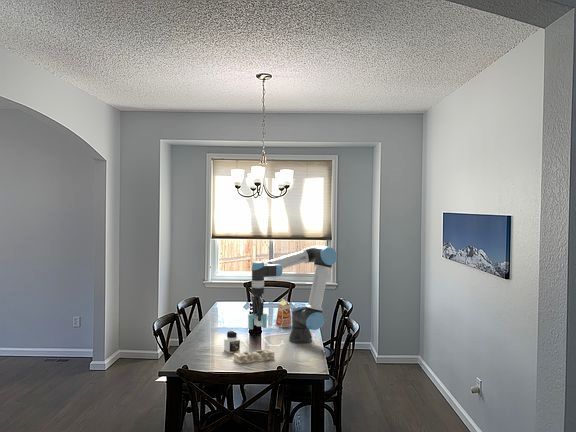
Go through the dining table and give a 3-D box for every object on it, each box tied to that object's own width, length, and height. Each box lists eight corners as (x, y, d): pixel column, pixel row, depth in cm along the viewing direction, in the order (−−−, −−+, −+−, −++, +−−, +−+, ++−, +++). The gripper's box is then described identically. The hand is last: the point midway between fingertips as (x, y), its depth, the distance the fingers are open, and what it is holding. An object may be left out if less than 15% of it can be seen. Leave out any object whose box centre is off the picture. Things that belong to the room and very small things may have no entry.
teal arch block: (264, 326, 335) (264, 313, 335) (266, 327, 332) (266, 313, 332) (248, 328, 330) (248, 314, 330) (250, 329, 327) (250, 315, 327)
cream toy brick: (268, 355, 324) (268, 349, 324) (274, 359, 316) (274, 352, 316) (233, 360, 314) (234, 353, 314) (239, 363, 306) (239, 356, 306)
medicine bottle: (229, 353, 328) (229, 333, 328) (223, 350, 334) (224, 331, 334) (239, 351, 333) (240, 331, 332) (233, 348, 338) (234, 329, 338)
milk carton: (275, 325, 407) (275, 298, 407) (285, 324, 413) (285, 297, 412) (282, 327, 400) (282, 300, 400) (292, 326, 405) (292, 299, 405)
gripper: (247, 285, 336) (246, 323, 336) (257, 289, 322) (257, 328, 322) (258, 285, 339) (257, 322, 340) (269, 288, 325) (268, 327, 325)
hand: (257, 325), depth 331 cm, fingers closed on teal arch block, 3 cm apart
